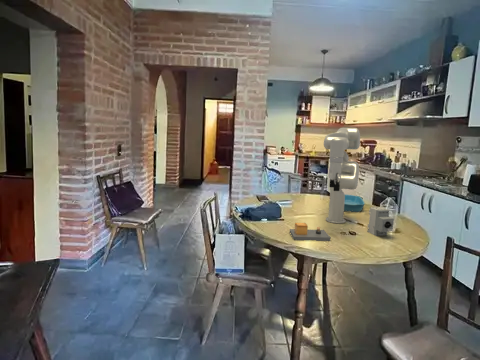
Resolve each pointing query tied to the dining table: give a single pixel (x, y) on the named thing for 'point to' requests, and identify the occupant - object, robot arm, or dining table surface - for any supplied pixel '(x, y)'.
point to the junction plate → (311, 235)
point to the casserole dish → (353, 203)
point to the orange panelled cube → (301, 228)
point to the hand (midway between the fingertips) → (334, 189)
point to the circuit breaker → (379, 221)
